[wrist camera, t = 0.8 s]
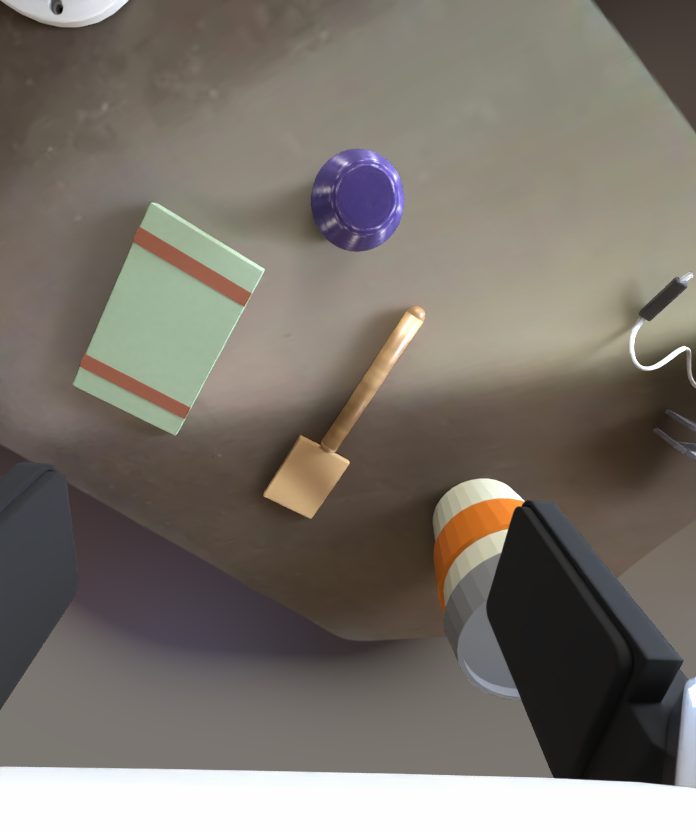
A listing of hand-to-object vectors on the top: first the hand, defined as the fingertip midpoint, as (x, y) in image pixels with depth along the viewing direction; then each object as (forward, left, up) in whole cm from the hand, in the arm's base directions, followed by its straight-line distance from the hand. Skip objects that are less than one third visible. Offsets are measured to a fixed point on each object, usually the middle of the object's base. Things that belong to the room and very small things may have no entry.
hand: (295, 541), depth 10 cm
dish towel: (-9, -8, -31) cm, 33 cm away
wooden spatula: (+7, -7, -31) cm, 32 cm away
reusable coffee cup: (+24, -10, -31) cm, 40 cm away
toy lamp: (-2, +7, -31) cm, 32 cm away
